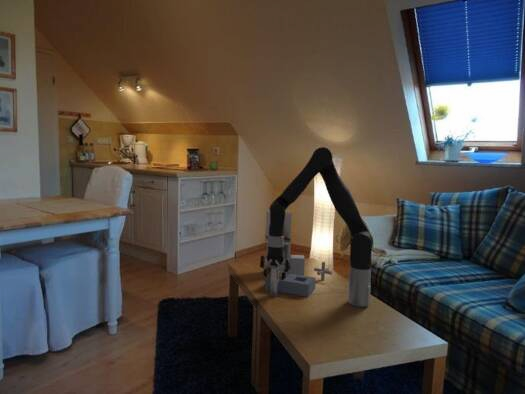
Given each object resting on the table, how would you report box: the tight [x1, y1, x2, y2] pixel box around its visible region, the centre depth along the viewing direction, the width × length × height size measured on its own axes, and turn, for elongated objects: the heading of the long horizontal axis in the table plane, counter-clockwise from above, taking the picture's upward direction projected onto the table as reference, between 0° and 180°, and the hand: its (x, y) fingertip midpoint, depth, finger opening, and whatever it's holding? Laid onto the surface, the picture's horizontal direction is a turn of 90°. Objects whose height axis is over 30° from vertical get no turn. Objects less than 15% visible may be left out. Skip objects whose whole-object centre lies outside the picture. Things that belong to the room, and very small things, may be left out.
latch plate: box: [270, 269, 290, 278], centre depth 200 cm, size 8×8×1 cm
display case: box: [264, 209, 293, 276], centre depth 221 cm, size 11×11×35 cm
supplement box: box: [289, 254, 306, 276], centre depth 213 cm, size 7×7×13 cm
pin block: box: [264, 272, 317, 298], centre depth 198 cm, size 22×12×6 cm, turn 67°
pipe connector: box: [313, 261, 333, 282], centre depth 213 cm, size 10×10×10 cm
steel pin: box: [269, 266, 280, 298], centre depth 188 cm, size 4×4×14 cm
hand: (274, 278), depth 189 cm, fingers open, 8 cm apart
